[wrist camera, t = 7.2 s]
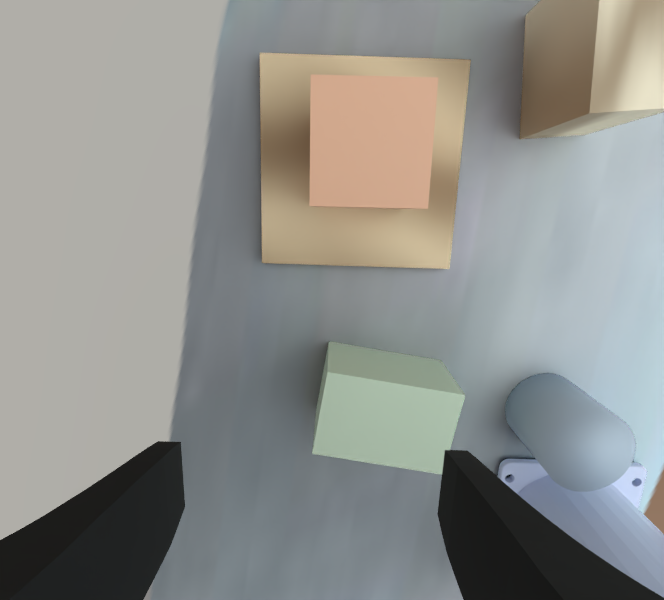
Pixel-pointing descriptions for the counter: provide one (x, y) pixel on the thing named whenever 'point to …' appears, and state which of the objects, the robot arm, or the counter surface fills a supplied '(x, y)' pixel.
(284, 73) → the cork coaster
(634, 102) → the beech block
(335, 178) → the terracotta cube
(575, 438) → the slate cylinder
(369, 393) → the sage block
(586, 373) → the counter surface
